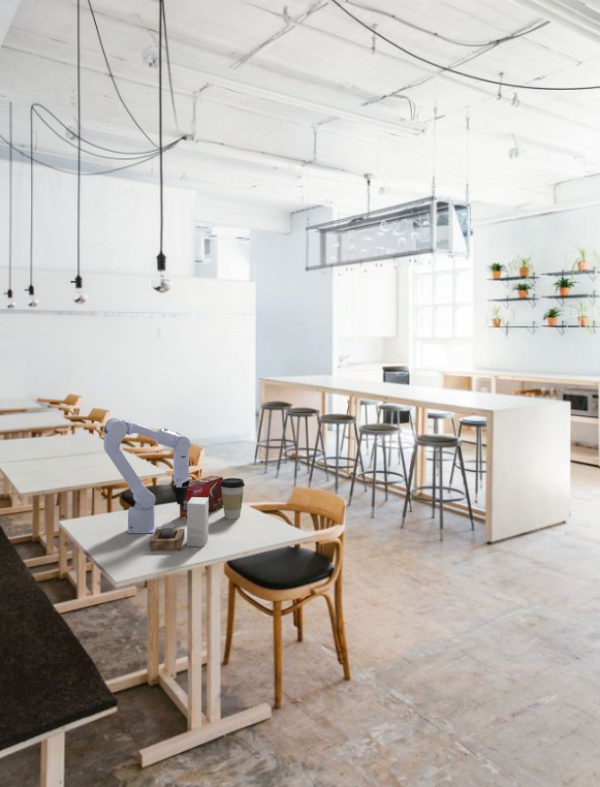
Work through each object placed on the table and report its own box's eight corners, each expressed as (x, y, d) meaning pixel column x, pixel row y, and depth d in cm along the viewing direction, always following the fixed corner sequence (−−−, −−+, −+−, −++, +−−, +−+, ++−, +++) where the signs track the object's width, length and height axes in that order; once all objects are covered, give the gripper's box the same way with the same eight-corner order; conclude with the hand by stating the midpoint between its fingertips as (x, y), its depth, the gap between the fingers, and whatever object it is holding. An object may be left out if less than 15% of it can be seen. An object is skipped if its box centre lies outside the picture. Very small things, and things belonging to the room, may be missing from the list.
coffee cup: (249, 516, 259) (249, 479, 257) (234, 521, 250) (234, 484, 249) (230, 512, 264) (230, 476, 263) (215, 517, 256) (215, 481, 254)
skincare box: (191, 539, 229) (191, 496, 228) (209, 539, 229) (209, 497, 227) (186, 546, 221) (186, 502, 219) (205, 547, 220) (205, 503, 219)
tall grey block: (162, 545, 221) (161, 528, 220) (163, 541, 225) (163, 524, 224) (173, 544, 221) (173, 528, 221) (175, 541, 225) (175, 524, 225)
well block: (150, 550, 216) (150, 540, 216) (156, 538, 229) (156, 528, 229) (179, 550, 217) (179, 540, 217) (184, 538, 230) (184, 528, 230)
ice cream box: (211, 505, 274) (211, 475, 272) (222, 508, 270) (222, 477, 269) (179, 517, 257) (179, 484, 255) (191, 519, 253) (191, 486, 252)
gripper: (189, 470, 236) (189, 506, 237) (193, 462, 250) (193, 496, 252) (170, 470, 236) (170, 506, 237) (175, 462, 250) (175, 496, 251)
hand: (181, 501), depth 244 cm, fingers open, 7 cm apart
